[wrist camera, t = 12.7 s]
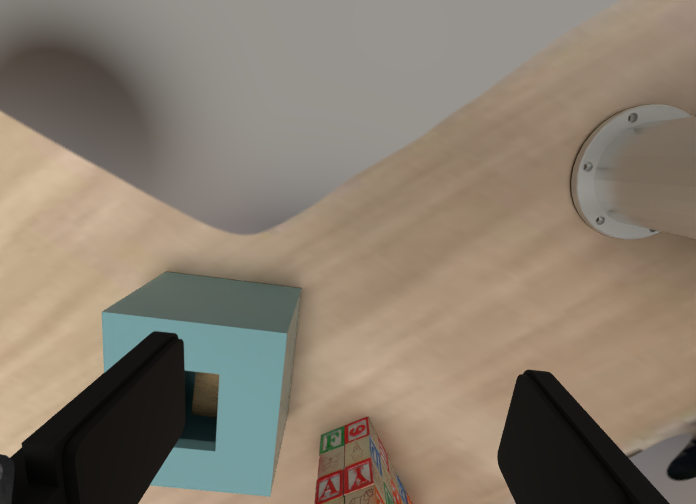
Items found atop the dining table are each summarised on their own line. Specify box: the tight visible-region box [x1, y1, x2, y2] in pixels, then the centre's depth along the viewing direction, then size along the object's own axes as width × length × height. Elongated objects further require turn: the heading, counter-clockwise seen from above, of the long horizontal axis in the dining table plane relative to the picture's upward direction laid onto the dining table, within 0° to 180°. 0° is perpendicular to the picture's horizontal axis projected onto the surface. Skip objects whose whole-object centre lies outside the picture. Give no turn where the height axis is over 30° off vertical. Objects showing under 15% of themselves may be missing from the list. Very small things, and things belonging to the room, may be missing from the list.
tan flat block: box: [191, 372, 219, 418], centre depth 36 cm, size 2×5×7 cm
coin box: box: [102, 272, 302, 497], centre depth 34 cm, size 14×16×10 cm
